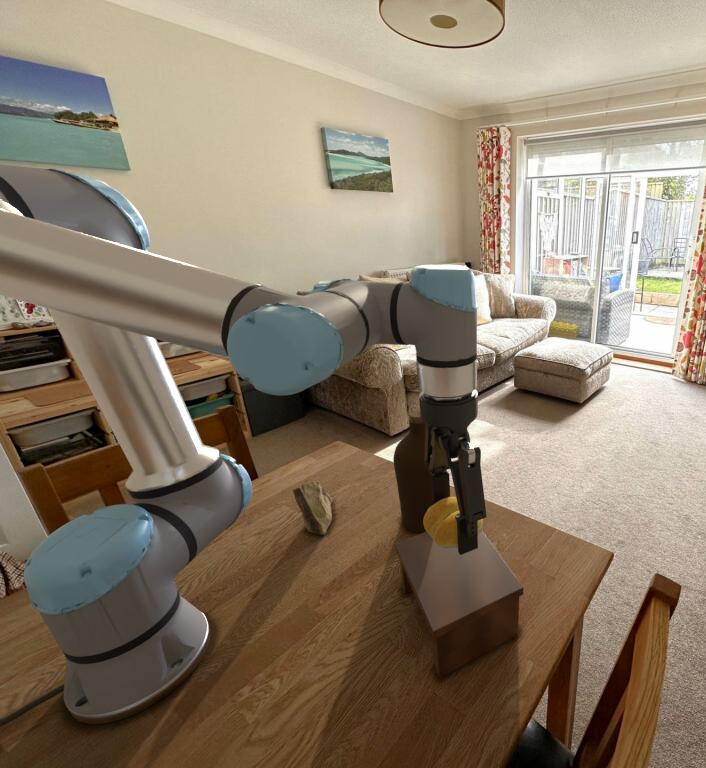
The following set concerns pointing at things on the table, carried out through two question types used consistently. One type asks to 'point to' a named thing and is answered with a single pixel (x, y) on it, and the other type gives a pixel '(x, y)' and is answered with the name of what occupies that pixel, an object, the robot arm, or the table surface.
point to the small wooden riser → (461, 597)
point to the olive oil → (413, 475)
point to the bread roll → (444, 522)
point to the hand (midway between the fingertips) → (454, 528)
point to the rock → (314, 506)
